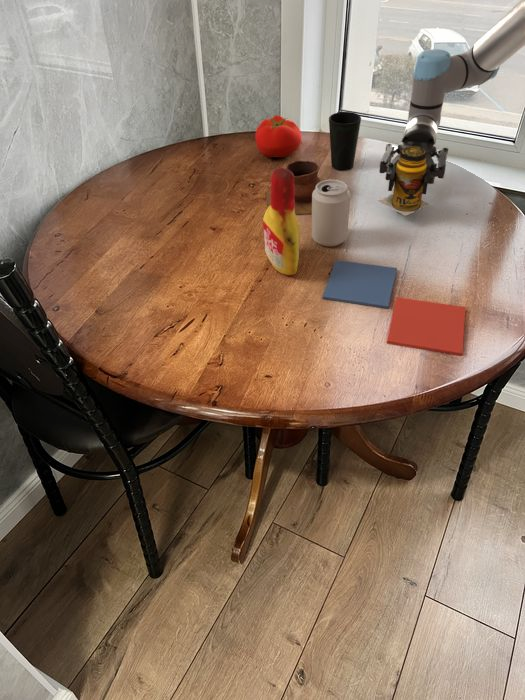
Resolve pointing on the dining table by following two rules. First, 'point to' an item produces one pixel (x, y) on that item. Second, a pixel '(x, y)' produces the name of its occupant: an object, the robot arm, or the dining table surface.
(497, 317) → the dining table surface
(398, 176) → the condiment
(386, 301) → the mat blue
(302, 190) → the ceramic pot
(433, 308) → the mat red
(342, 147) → the cup
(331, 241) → the can
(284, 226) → the bottle
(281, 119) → the tomato
